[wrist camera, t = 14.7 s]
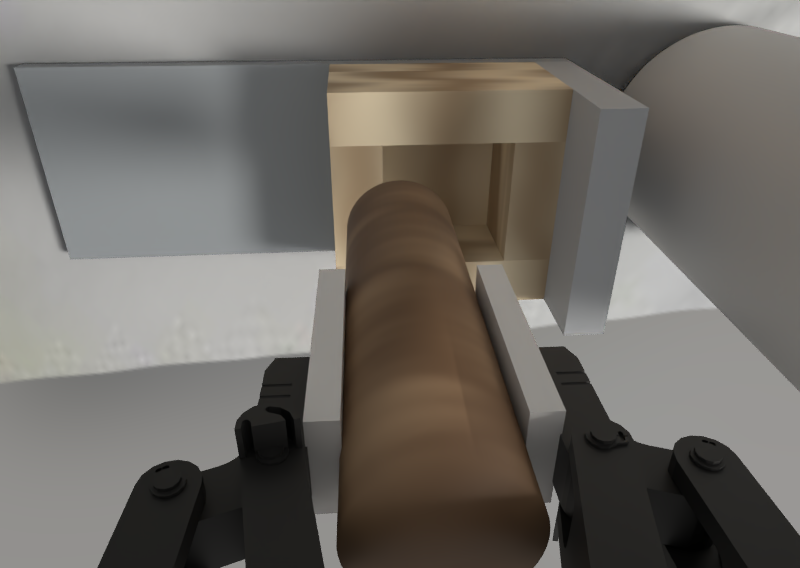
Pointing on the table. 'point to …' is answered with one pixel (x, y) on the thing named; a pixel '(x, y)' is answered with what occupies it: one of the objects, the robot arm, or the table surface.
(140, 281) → the table surface
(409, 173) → the block
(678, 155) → the cylinder vase
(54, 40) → the table surface
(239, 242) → the grey corner bracket
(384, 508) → the dowel
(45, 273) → the table surface
